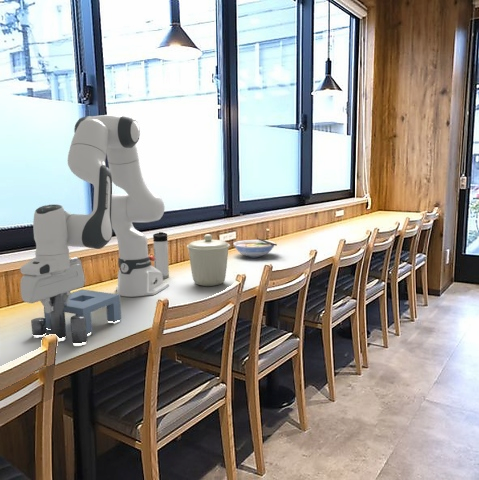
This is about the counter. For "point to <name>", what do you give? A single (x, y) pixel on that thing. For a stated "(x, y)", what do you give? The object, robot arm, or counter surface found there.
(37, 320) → the short steel pin
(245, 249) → the ramen bowl
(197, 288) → the counter surface
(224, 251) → the canister
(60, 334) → the tall steel pin
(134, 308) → the counter surface
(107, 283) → the counter surface
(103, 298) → the grey legged square frame
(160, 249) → the travel mug
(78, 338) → the medium steel pin
